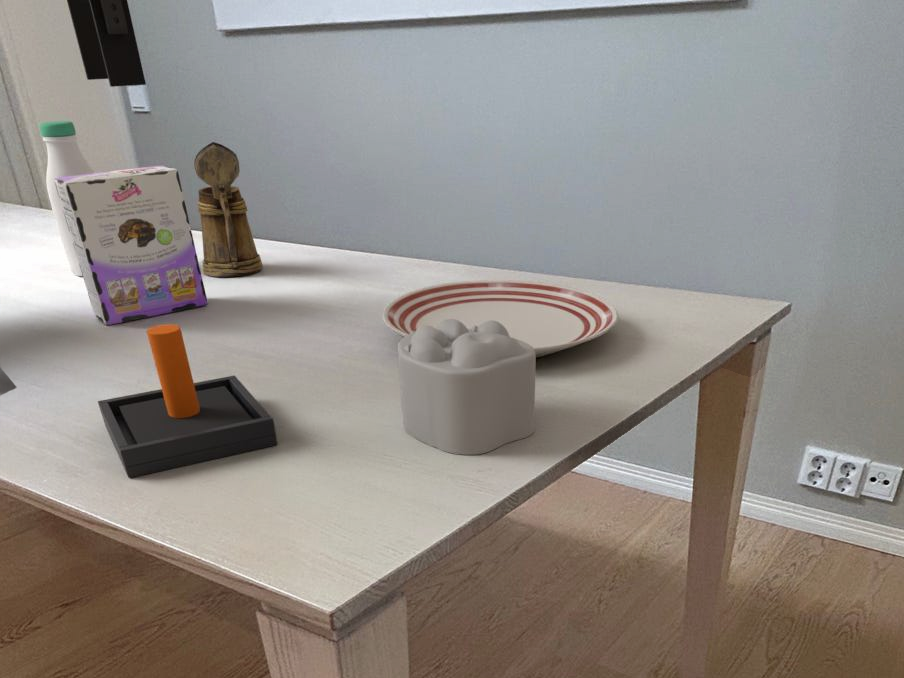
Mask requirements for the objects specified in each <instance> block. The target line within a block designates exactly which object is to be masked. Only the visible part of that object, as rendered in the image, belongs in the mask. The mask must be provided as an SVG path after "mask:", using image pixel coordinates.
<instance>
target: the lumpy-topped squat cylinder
mask: <svg viewBox="0 0 904 678" xmlns="http://www.w3.org/2000/svg"><path fill="white" fill-rule="evenodd" d="M536 358H537V357H536V355H535V350H534V348H533V347H532V346H531V345H529V344H527V343H525V342H523V341H520V340H517V339H515V338H512V337H510V336H509V334H508V331H507V330H506V328H505V327H504V326H503V325H502V324H501V323H499V322H497V321H493V320H491V321H487V322H484V323H482V324H481V325H479V326H478V327H477V326H474V327H472V328H471V329H467V328H466V326H465V325H464V324H463V323H462V322H460V321H458V320H456V319H447V320H444V321H442V322H440V323H439V324H438V325H437V326H436V327H435V328H434V327H432V326H422V327H420V328H419V329H417V330H416V332H415V331H413V332H412V333H410V334H408V335H406V336H405V337H402V338H401V339H400V340H399V342H398V343H397V362H398V371H399V373H398V374H399V386H400V396H401V408H402V421H403V422H402V423H403V426H404V429H405V431H406V433H407V434H408V435H410V436H411V437H412V438H414V439H416V440H418V441H420V442H422V443H424V444H426V445H429V446H431V447H434V448H436V449H438V450H441V451H444V452H447V453H450V454H454V455H462V456H463V455H464V456H465V455H466V456H475V455H482V454H487V453H489V452H492V451H494V450H495V449H497V448H499V447H501V446H504V445H505V444H508V443H511V442H515V441H519V440H522V439H525V438H528V437H530V436H531V435H533V434H534V433H535V422H536V421H535V420H536V419H535V415H536V414H535V411H536V363H537V361H536V360H537V359H536Z"/></svg>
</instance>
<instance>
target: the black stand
mask: <svg viewBox="0 0 904 678" xmlns="http://www.w3.org/2000/svg"><path fill="white" fill-rule="evenodd" d="M146 334H147V339H148V342H149V346H150V349H151V353H152V357H153V361H154V364H155V370H156V372H157V376H158V380H159V384H160V387H161V388H160V389H162V392H163V395H164V398H160V399H154V400H149V401H144V402H139V403H134V404H128V405H123V406H119V407H120V411H121V414H122V417H123V420H124V422H125V424H126V426H127V428H128V430H129V432H130V434H131V436H132V438H133V440H134V442H135V444H140V443H145V442H149V441H154V440H159V439H164V438H168V437H173V436H178V435H183V434H187V433H192V432H197V431H202V430H206V429H211V428H216V427H221V426H225V425H230V424H235V423H240V422H244V421H249V420H253V419H252V418H251V417H250V416H249V415H248V413H247V412H246V411H245V410H244V409H243V407H242V406H241V405H240V404H239V403H238V401H237V400H236V399H235V398H234V397H233V395H232V394H231V393H230V392H229V391H228V389H227V388H226V387H225V386H222V387H217V388H211V389H206V390H201V391H195V387H194V383H195V382H194V379H193V374H192V370H191V366H190V362H189V358H188V353H187V349H186V346H185V345H186V344H185V341H184V337H183V332H182V328H181V326H179V325H177V324H170V323H169V324H168V323H167V324H159V325H154V326H152V327H149V328H148V329H147V330H146Z"/></svg>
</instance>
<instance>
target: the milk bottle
mask: <svg viewBox="0 0 904 678" xmlns="http://www.w3.org/2000/svg"><path fill="white" fill-rule="evenodd" d="M38 129H39V132H40V134H41V136H42V141H43V142H45V145H46V149H47V166H46V177H45V180H46V181H45V182H46V183H45V184H46V190H47V194H48V198H49V202H50V207H51V209H52V213H53V216H54V219H55V223H56V225H57V230H58V233H59V236H60V239H61V242H62V246H63V249H64V253H65V255H66V258H67V262H68V265H69V268H70V271H71V273H72V274H73V275H74V276H77V277H83V275H82V271H81V268H80V265H79V262H78V258H77V255H76V251H75V248H74V245H73V241H72V238H71V234H70V231H69V228H68V225H67V221H66V218H65V215H64V211H63V208H62V205H61V201H60V198H59V195H58V191H57V188H56V185H55V181H54V178H61V177H68V176H77V175H85V174H92V173H95V171H94V169H93V168H92V167H91V166H90V164H89V163H88V162H87V161H88V160H86V158H85V156H84V155H83V153H82V151H81V150H80V148H79V145H78V142H77V140H78V137H77V132H76V128H75V124H74V122H72V120H71V121H70V120H54V121H45V122H40V123H39V124H38Z"/></svg>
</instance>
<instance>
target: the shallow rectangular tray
mask: <svg viewBox="0 0 904 678" xmlns="http://www.w3.org/2000/svg"><path fill="white" fill-rule="evenodd" d="M222 386H225V387H226V388H227V389H228V391H229V392H230V393H231V394H232V395H233V397H234V398H235V399H236V400H237V401H238V403H239V404H240V405H241V406H242V407H243V409H244V410H245V411H246V412H247V413H248V415H249V416H250V417H251V418H252V419H253V420H249V421H244V422H240V423H235V424H230V425H225V426H221V427H216V428H211V429H206V430H202V431H197V432H192V433H187V434H183V435H178V436H173V437H168V438H164V439H159V440H154V441H149V442H145V443H140V444H135V442H134V440H133V438H132V436H131V434H130V432H129V430H128V428H127V426H126V424H125V422H124V420H123V417H122V414H121V411H120V407H119V406H123V405H128V404H134V403H139V402H144V401H149V400H154V399H160V398H164V395H163V392H162V388H160V389H155V390H150V391H143V392H138V393H135V394H133V393H132V394H129V395H123V396H118V397H112V398H108V399H107V398H106V399H102V400H98V401H97V404H98V407H99V410H100V414H101V417H102V420H103V423H104V426H105V429H106V431H107V433H108V435H109V438H110V440H111V443H112V444H113V447H114V449H115V451H116V453H117V456H118V458H119V460H120V462H121V464H122V467H123V469H124V472H125V473H126V476H127V477H128V479H131V478H135V477H140V476H144V475H149V474H153V473H159V472H162V471H167V470H172V469H176V468H181V467H186V466H190V465H193V464H198V463H204V462H208V461H212V460H216V459H221V458H224V457H230V456H233V455H234V456H235V455H238V454H239V455H240V454H242V453H243V454H244V453H246V452H251V451H255V450H261V449H265V448H269V447H274V446H277V445H278V444H279V442H278V437H277V431H276V427H275V421H274V418H273V417H272V416H271V415H270V413H269V412H268V411H267V410H266V409H265V407H263V405H262V404H261V403H260V402H259V401H258V400H257V399H256V398H255V396H254V395H253V394H252V393H251V392H250V391H249V390H248V389H247V388H246V387H245V386H244V384H243V383H242V382H241V381H240V380H239V379H238V378H237V376H236V375H229V376H224V377H223V376H222V377H219V378H213V379H208V380H202V381H198V382H194V387H195V391H201V390H206V389H211V388H217V387H222ZM278 446H279V445H278Z"/></svg>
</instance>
